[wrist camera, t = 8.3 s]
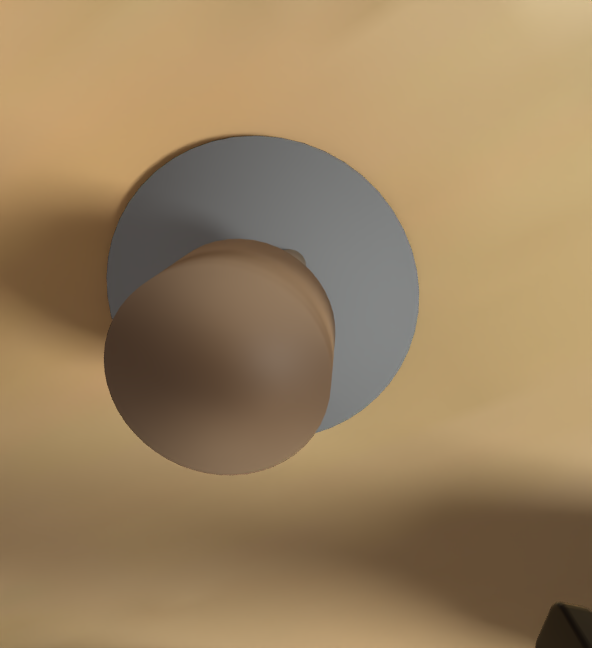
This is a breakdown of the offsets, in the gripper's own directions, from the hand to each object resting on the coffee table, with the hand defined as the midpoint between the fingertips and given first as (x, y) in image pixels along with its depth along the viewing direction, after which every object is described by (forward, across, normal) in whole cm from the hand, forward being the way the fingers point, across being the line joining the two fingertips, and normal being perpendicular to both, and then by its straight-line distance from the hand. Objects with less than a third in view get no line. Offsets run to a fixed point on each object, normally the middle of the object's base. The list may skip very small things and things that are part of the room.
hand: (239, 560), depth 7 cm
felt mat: (+13, +2, 0) cm, 13 cm away
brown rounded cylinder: (+12, +2, 0) cm, 12 cm away
